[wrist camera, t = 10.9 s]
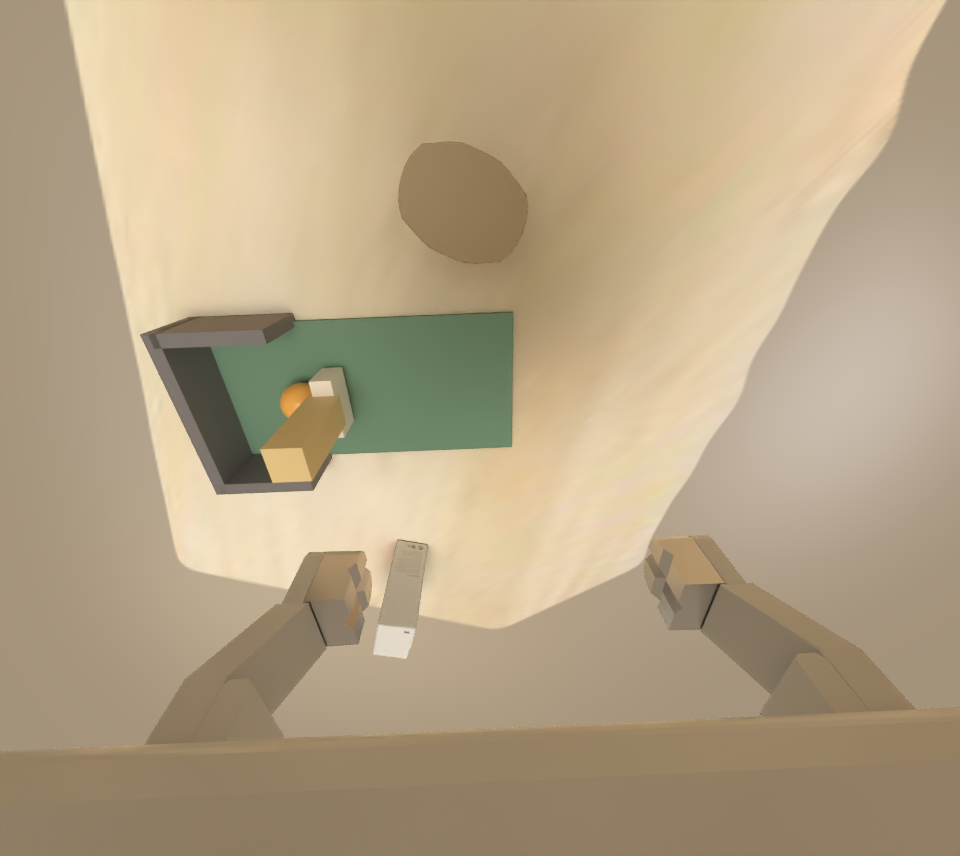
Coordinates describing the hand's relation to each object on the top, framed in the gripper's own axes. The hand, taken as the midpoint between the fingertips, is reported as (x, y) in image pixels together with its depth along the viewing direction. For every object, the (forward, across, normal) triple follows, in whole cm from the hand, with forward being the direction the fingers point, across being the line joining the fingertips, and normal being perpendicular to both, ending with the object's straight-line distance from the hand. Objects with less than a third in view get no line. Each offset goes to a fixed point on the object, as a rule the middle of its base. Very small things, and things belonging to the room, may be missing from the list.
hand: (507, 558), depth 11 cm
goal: (+29, +22, +7) cm, 37 cm away
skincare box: (+29, +11, +32) cm, 45 cm away
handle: (+29, +1, -9) cm, 31 cm away
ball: (+27, +18, +7) cm, 33 cm away
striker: (+29, +15, +7) cm, 33 cm away
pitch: (+29, +12, +7) cm, 32 cm away
